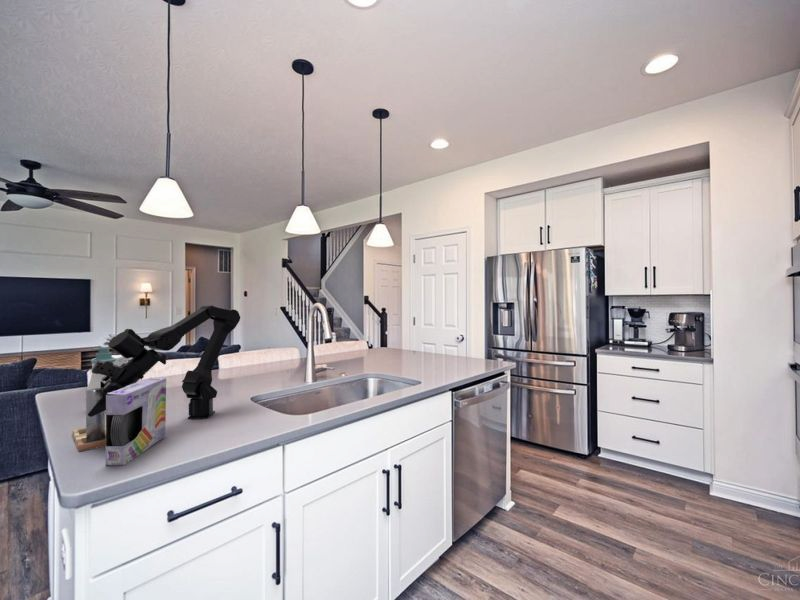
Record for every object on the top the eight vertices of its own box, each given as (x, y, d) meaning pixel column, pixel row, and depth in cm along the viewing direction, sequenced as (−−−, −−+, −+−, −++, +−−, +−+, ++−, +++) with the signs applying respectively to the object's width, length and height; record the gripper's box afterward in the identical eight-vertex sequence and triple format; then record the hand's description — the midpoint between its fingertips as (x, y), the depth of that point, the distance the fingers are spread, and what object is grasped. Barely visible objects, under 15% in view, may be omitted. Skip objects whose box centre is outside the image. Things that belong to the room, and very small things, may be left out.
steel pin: (108, 440, 103) (108, 387, 103) (99, 445, 99) (99, 390, 99) (92, 441, 102) (91, 388, 102) (82, 447, 98) (82, 391, 98)
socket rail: (114, 443, 100) (114, 438, 101) (78, 451, 95) (78, 446, 95) (104, 428, 113) (104, 423, 113) (72, 434, 108) (72, 429, 108)
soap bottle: (80, 412, 130) (79, 348, 130) (110, 405, 139) (110, 345, 139) (96, 415, 126) (96, 350, 126) (126, 407, 135) (126, 346, 135)
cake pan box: (122, 467, 86) (122, 393, 86) (99, 468, 85) (99, 393, 86) (167, 437, 105) (167, 376, 105) (149, 438, 105) (149, 377, 105)
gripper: (111, 346, 110) (61, 388, 103) (115, 352, 96) (58, 402, 89) (142, 369, 116) (98, 410, 108) (151, 378, 101) (100, 426, 94)
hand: (88, 412), depth 100 cm, fingers open, 9 cm apart
